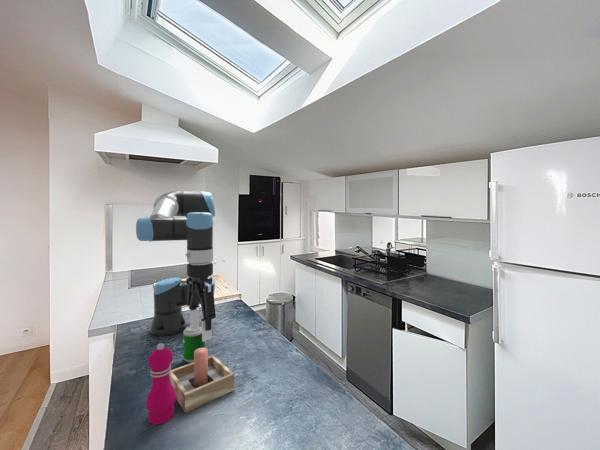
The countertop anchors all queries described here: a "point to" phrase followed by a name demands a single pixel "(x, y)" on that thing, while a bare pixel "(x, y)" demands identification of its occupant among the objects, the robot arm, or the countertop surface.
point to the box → (193, 398)
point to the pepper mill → (160, 386)
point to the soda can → (192, 343)
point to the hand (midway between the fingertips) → (200, 334)
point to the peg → (200, 367)
